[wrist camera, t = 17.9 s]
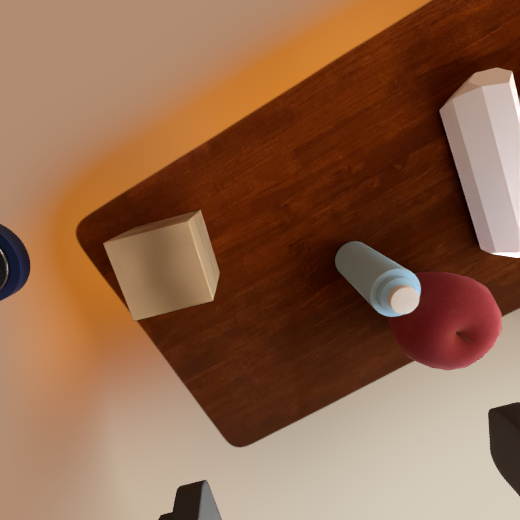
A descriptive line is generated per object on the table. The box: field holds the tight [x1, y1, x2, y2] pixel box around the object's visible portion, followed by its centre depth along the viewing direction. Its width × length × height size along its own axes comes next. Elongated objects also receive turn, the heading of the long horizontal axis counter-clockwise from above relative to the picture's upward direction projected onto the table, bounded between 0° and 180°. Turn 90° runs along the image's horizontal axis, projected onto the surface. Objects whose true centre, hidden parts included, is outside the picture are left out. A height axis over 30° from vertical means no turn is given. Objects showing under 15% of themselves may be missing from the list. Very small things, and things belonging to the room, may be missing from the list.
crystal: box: [439, 68, 520, 258], centre depth 40 cm, size 7×7×24 cm
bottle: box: [335, 241, 421, 317], centre depth 38 cm, size 5×5×15 cm
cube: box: [103, 210, 220, 321], centre depth 39 cm, size 9×9×10 cm
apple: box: [388, 271, 502, 370], centre depth 41 cm, size 12×12×13 cm
